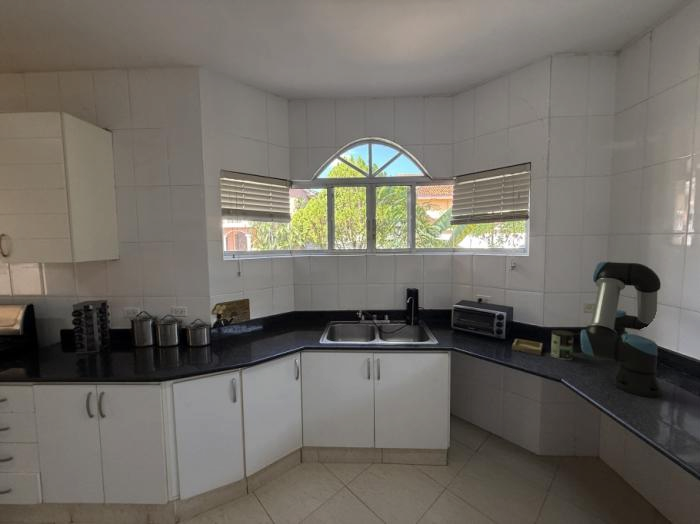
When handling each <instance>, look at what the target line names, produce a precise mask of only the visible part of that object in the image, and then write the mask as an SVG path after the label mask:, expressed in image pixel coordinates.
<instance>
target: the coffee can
mask: <svg viewBox="0 0 700 524" xmlns="http://www.w3.org/2000/svg"><path fill="white" fill-rule="evenodd" d="M573 333H574V332H571V331H569V330H565V329H564V330H563V329H552V330H551V341H550V342H551V345H550V346H551V347H550V356H551V357H553V358H556V359H558V360H563V361H571V360H573V356H574V355H573V354H574V338H573V337H574V334H573Z"/></svg>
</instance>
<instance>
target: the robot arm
mask: <svg viewBox="0 0 700 524" xmlns="http://www.w3.org/2000/svg"><path fill="white" fill-rule="evenodd" d="M659 277H660V276H658V274H657V273H656V272H655V271H654V270H653V269H652V268H650V267H649V266H647V265H644V264H641V263H636V262H615V261H614V262H613V261H612V262H611V261H602V262H598V263H597V264H596V266H595V268H594V271H593V277H592V280H593V282H594V283H595V285H596V286H597V288H598V290H597V294H596V300H595V304H594V309H593V313H592V318H591V323H590V324H588V325H586V328H585V329H580V332H572V333H573V334H574V337H573V339H577V340H580V350H581V352H582V353H583V354H585V355H588V356H591V357H593V358H594V357H595V358H599V359H600V358H601V359H605V360H609V361H614V362H617V363H619V369H618V370H617V372H616V373H615V375H614V377H613V384H614V386H615V385H616V386H615V387H617V388H618V389H621V390H622V389H623V390H622V391H624V390H625V391H624V392H627V393H629V392H630V393H629V394H633V395H636V394H637V395H638V396H641V397H648V398H649V397H650V398H655V397H659V396H661V387H660V386H661V385H660V384H659V381H658V379H657V364H658V363H657V362H658V355H659V352H658V351H659V350H658V344H657V343H656V342H655V341H654V340H652V339H650V338H647V337H644V336H641V335H638V334H633V333H629V332H628V331H626V329H630V330H637V331H641V330H640V329H642V328H644V327H647V326H648V325H649V324H650V323H651V322H652V321H653V319H654V318H655V315H656V312H657V313H658V291H659V290H661V286H662V285H661V280H660V278H659ZM626 286H632V287H634V289H635V290H636V309H637V311H636V312H637V313H636V314H637V317H636V315H628V314H627V312H626V311H625V310H620V309H618V308H619V307H618V305H619V300H620V294H621V291H623V290H624V289H625V288H626Z"/></svg>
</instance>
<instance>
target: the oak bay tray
mask: <svg viewBox="0 0 700 524" xmlns="http://www.w3.org/2000/svg"><path fill="white" fill-rule="evenodd" d="M513 341H514V342H513V343H512V345H511V351H514V350H516V351H515V352H519V351H521V353H524V352H525V354H531V355H536V356H541V354H542V351H543V342H538V341H532V340H527V339H521V338H514V340H513Z"/></svg>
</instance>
